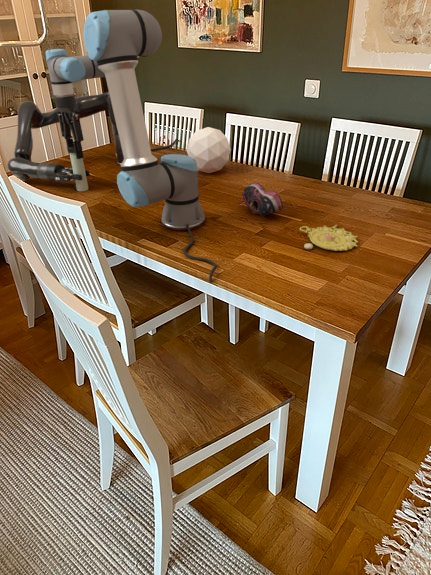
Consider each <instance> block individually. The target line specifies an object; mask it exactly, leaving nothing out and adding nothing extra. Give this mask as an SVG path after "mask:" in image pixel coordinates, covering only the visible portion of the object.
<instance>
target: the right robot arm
mask: <svg viewBox="0 0 431 575" xmlns="http://www.w3.org/2000/svg"><path fill="white" fill-rule="evenodd" d="M161 28H162V27H161V26H160V23H159V21H158V20H157V19H156V18H155V16H153V14H151V13H149V12H148V11H146V10H142V9H103V10H97V11H91V12H90V13H89V14H88V15H87V16H86V18H85V21H84V24H83V44H84V49H85V52H86V53H85V54H86V55H78V56H76V55H75V56H69V55H68V52H67V50H66V49H65V48H52V49H47V50H46V51H45V63H46V64H47V69H48V75H49V79H50V84H51V89H52V94H53V96H54V98H53V99H54V102H55V108H56V107H58V108H60V111H57V115H58V118H59V123H58V124H59V128H60V134H61V137H62V138H64V140H65V143H66V147H67V146H68V145H70V144H74V147H75V152H76V157H77V159H81V158H83V159H84V152H83V146H82V142H83V141H84V135H83V129H82V124H81V119H80V115H79V114H75V111H74V108H73V107H74V106H76V100H75V97H76V96H75V95H74V94H75V90H74V84H73V83H79V82H81V81H83V80H92V79H99V78H105V80H106V85H107V90H108V92H109V94H110V99H111V103H112V108H113V112H114V116H115V121H116V125H117V130H118V134H119V139H120V143H121V147H122V152H123V156H124V160H123V162H122V164H121V165H120V170H121V171H120V172H119V173H118V174H117V175H116V184H117V187H118V190H119V192H120V194H121V196H122V198H123V200H124V201H125V202H126V203H127V204H128V205H129V206H130V207H132V208H141V207H148V206H150V205H152V204H156V203H159V202H162V201H164V204H163V209H162V213H161V219H160V220H161V225H162V227H163V228H165V229H167V230H170V231H175V232H176V231H177V232H185V231H186V232H187V233H188V235H189V237H190V242H189V244H188V245H187V246H185V247H184V249H183V255H184V256H185V257H187V258H189V259H192V260H197V261H202V262H207V263H209V264H211V265H212V266H213V267H212V269H211V270H210V272H209V274H208V280H209V281H208V283H209V284H212V283H213V275H214V272H215V271H216V270H217V264H216V262H214V261H213V260H211V259H209V258H205V257H199V256H193V255H191V254H188V253H187V251H188V249H189V248H191V247H192V246H193V244H194V235H193V234H192V230H195V229H198V228H201V227H202V226H203V225H204V224H205V223H206V215H205V212H204V210H203V208H202V204H201V202H200V196H199V176H198V173H199V171H198V170H197V163H196V160H195V159H194V158H192V157H190V156H188V155H187V154H186V155H185V154H178V153H177V154H175V153H174V154H173V153H171V154H165V155H162V156H161V157H160V162H159V160H158V158H157V157H156V156H154V155H153V153H152V151H151V149H152V148H151V145H150V141H149V135H148V130H147V125H146V119H145V115H144V110H143V105H142V100H141V95H140V91H139V90H140V89H139V85H138V80H137V75H136V70H135V69H136V67H137V65H138V63H139V59H138V58H147V57H148V56H149V57H150V55H152V54H154V53H155V52H157V51H158V50H159V48H160V46H161V44H162V41H163V40H162V39H163V33H162V32H163V31H162V29H161ZM67 153H68V156H69V157H70V154H69V152H68V151H67Z"/></svg>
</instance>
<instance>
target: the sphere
mask: <svg viewBox="0 0 431 575" xmlns="http://www.w3.org/2000/svg"><path fill="white" fill-rule="evenodd" d="M231 151H232V149H231V145H230V143H229V140H228V138H227V136H226V135H225V134H224V133H223V131H221V129H218V128H213V127H210V126H206V127H204V128H200V129H198V130H195V132H194V133H193V134H192V135H191V136H190V137H189V140H188V143H187V147H186V155H187V156H190V157H192V158H194V159H195V160H196V163H197V170H198V172H203V173H206V174H212V173H215V172H218V171H221V170H222V169H223V168H224V166H226V164H227V163H228V161H229V158H230V155H231Z"/></svg>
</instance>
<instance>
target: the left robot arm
mask: <svg viewBox="0 0 431 575" xmlns="http://www.w3.org/2000/svg"><path fill="white" fill-rule="evenodd" d="M75 100H76V106H74V107H73V108H74V111H75V114H79V115H80V120H82V119H85V118H88V117H92V116H94V115H96V114H98V113H101V112H106V111H108V115H109V121H110V123H111V126H112V127H111V128H112V135H113V141H114V142H113V143H114V150H115V153H114V154H115V157H116V163H117V165H118V166H121V164H122V162H123V160H124V156H123V152H122V147H121V143H120V139H119V134H118V130H117V125H116V121H115V116H114V112H113V108H112V103H111V99H110V94H109V91H106V92H104V93H99V94H91V95H82V96H81V95H80V96H75ZM57 111H60V108H58V107H56V106H55V108H54V109H52V110H50V111H47V112H42V111H41V110H40V109H39V107H38V105H37V104H36V103H35V102H34V101H32V100H25V101H23V102H22V103H20V104H19V106H18V108H17V134H16V141H15V146H14V150H13V155H14V157H12V158H10V159H9V160H8V161H7V165H6V166H7V169H8V171H9V172H10V173H12V175H13V176H14V177H15V178H17V177H18V178H19V179H21V180H22V182H25V181H28V180H29V179H30V178H31V179H33V180H41V181H46V182H54V183H69V182H71V181H75V180H82V175H79V174H74V173H73V168H72V167H65V166H64V165H63V164H61V163H54V162H35V161H32V154H33V149H34V140H33V132H32V130H37V129H41V128H44V127H47V126H51V125H54V124H60V123H59V118H58V115H57ZM178 139H179V138H175V139H174V140H173V141H172V142H171V143H170V144H169V145H165V146H161V147H156V148H150V149H151V152H154V151H159V150H164V149H165V150H166V149H169V148H170V147H172V146H174V145H175V144H176V142H180V139H179V140H178ZM85 173H86V177H90V176H91V173H90V170H86V169H85ZM18 178H17V179H18ZM19 179H18V180H19ZM21 180H20V181H21Z"/></svg>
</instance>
